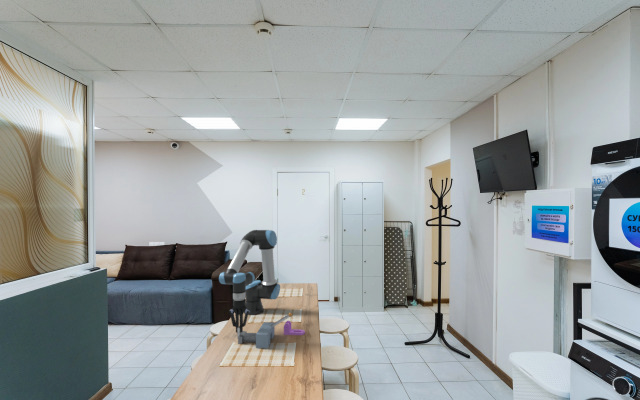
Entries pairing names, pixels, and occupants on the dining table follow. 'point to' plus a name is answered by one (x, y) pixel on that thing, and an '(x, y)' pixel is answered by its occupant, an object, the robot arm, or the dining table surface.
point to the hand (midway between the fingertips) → (239, 337)
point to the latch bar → (281, 320)
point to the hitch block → (265, 335)
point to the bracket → (292, 330)
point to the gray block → (246, 337)
